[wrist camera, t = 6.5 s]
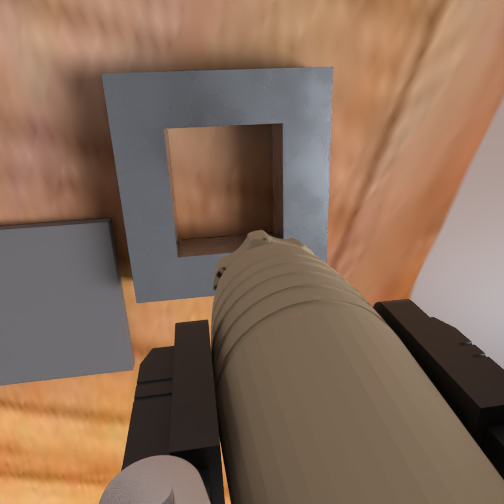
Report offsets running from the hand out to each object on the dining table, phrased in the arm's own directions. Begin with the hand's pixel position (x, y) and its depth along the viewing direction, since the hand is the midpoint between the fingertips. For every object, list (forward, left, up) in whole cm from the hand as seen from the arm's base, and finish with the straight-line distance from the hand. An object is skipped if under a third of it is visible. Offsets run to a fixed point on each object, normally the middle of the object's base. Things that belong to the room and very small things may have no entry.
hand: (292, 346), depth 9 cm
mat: (+8, -14, -21) cm, 26 cm away
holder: (0, 0, -21) cm, 21 cm away
